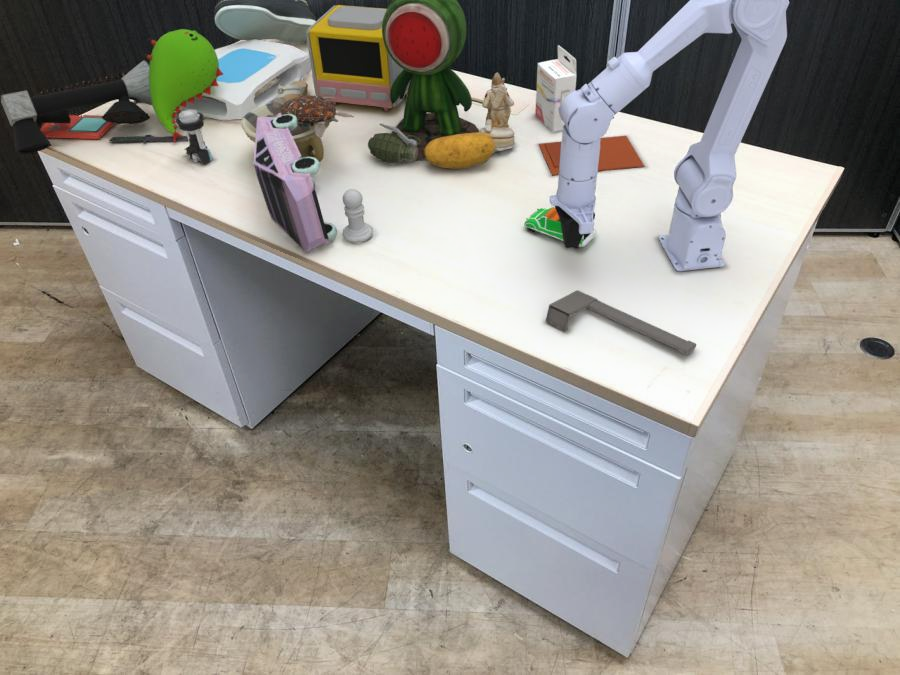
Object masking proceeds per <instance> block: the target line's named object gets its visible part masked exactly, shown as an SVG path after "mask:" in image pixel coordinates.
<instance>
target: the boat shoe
mask: <svg viewBox="0 0 900 675" xmlns="http://www.w3.org/2000/svg"><path fill="white" fill-rule="evenodd" d="M213 12H214V23H215V25H216V27H217V28H218V29H219V30H220V31H221V32H223V34H225V35H227V36H230V37H231V38H233V39H236V40H239V41H240V40H241V41H248V40H254V39H257V40H263V41H267V40H275V41H276V40H277V41H279V42H282V43H284V44H305V43H307V38H306V31H307V29H308V28H309V27H311V26H312V25H313V24H314V23H315V22H316V21H317V20H318V17H317V15H316V14H315V13H314V12H312V11H311V9H310V5H309V4H308V2H307V1H306V0H219V1H218V2H217V3H216V5H215V7H214V11H213Z"/></svg>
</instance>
